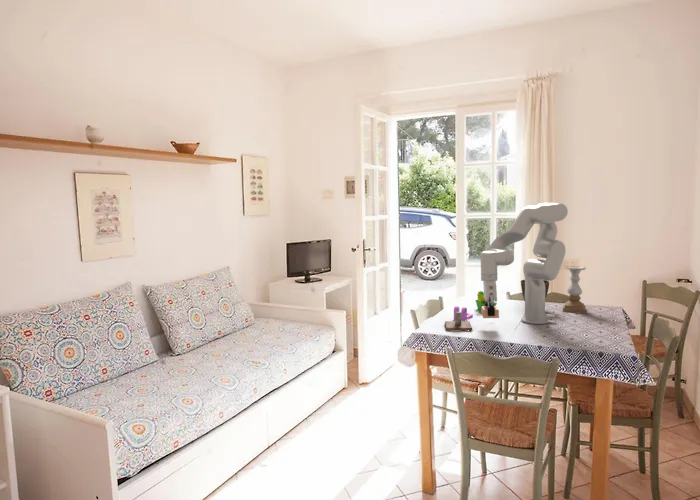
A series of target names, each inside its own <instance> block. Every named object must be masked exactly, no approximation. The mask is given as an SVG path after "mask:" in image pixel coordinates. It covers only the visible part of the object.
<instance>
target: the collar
mask: <svg viewBox="0 0 700 500" xmlns="http://www.w3.org/2000/svg"><path fill="white" fill-rule="evenodd" d="M494 307H495V316H488V306H481V310H480V312H481V317H482V318H483V319H499V318H500V316H499V315H500V313H499V312H500V311H499V308H498V307H497V305H496V306H494Z"/></svg>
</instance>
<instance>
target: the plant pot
mask: <svg viewBox="0 0 700 500" xmlns="http://www.w3.org/2000/svg"><path fill="white" fill-rule="evenodd" d="M543 281H544V283H545V301H546V299H547V297H548V293H549V289H550V281H547V280H543ZM520 286H521V287H520V288H521V293H522V297H523V298H522V299H523V300H524V302H525V279H522V280H520Z"/></svg>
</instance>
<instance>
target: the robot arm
mask: <svg viewBox="0 0 700 500" xmlns="http://www.w3.org/2000/svg"><path fill="white" fill-rule="evenodd" d="M568 212H569V210H568V207H567V206H566V204H564V203H562V202H561V203H560V202H543V203H542V202H541V203H538V204H537V205H527V206H525V207H523V208H522V209H521V211H520V212H519V213H518V214H517V217H516V218H515V219H514V221H513V222H512V224H511V225H510V227H509V229H507V230H505V231H503V233H501V234H500V235H499V236H497V237H496V238H495V239H494V240H493V241H492V243H491V244H490V245H489V247H488V248H487V250H484V251H481V252H480V281H482V282H483V293H484V298H485V303H487V304H485V306H488V316H495V307H494V302H495V303H497V302H498V292H497V283H496V282H497V281H498V267H499V266H501V267H502V266H503V267H504V266H509V265H511V264H513V262H514V260H515V254H514V253H513V252H512V251H510V250H507V249H505V248H508V246H510V245H512V244H514V243H517V242H520V241H522V240H524V239H525V238H526V237H527V235H528V234H529V232H530V230H531V229H532V228H533V226H535V224H536V225H539V229H538V233H537V236H536V239H535V241H534V244H533V249H532V253H533V255H534V256H535V257H539V258H542V259H539V258H529V259H528V260H526V261H525V262H524V264H523V265H522V266H523V269H522V270H523V276H524V280H525V301H524V316H523V317H521V322H523V323H525V324H530V325H544V324H548V322H549V320H548V319H555V318H556V315H555V314H551V313H546V300H545V283H544V281H543V280H546V281H549V282H550V281H554V280H555V279H556V278H557V277H558V275H559V273H560V270H561V267H562V264H563V262H564V259H565V255H566V245H565V243H564V242H562V241H561V240H558V239H556V238H557V236H558V226H557V224H556V222H560V221H563V220H565V218H567V216H568Z"/></svg>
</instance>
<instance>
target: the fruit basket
mask: <svg viewBox="0 0 700 500" xmlns="http://www.w3.org/2000/svg"><path fill="white" fill-rule="evenodd" d="M475 304H476V307H477V310H479V311H481V306H485V304H487V303H485V298H484V290H483V291H482V290H479V291H478V292H477V299H475ZM497 304H498V303H497V302H495V301H494V306H496V307H497Z"/></svg>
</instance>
